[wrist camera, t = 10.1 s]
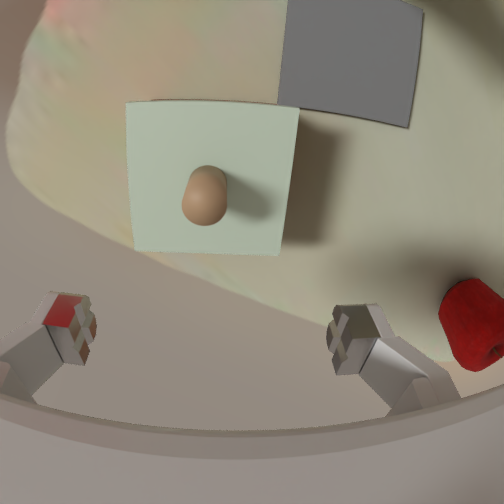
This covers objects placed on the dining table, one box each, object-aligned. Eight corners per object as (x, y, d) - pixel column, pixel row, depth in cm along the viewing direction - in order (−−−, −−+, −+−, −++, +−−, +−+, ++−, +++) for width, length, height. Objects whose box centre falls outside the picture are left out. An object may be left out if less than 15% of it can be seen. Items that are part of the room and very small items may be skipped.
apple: (465, 254, 36) (521, 319, 25) (488, 281, 40) (534, 339, 28) (416, 307, 41) (458, 380, 29) (445, 327, 44) (482, 389, 33)
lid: (296, 107, 21) (314, 116, 17) (277, 249, 27) (286, 285, 23) (129, 101, 20) (105, 110, 15) (137, 244, 26) (122, 280, 22)
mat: (419, 10, 20) (422, 9, 20) (404, 126, 27) (407, 127, 27) (290, -27, 19) (292, -29, 18) (277, 104, 26) (278, 105, 25)
